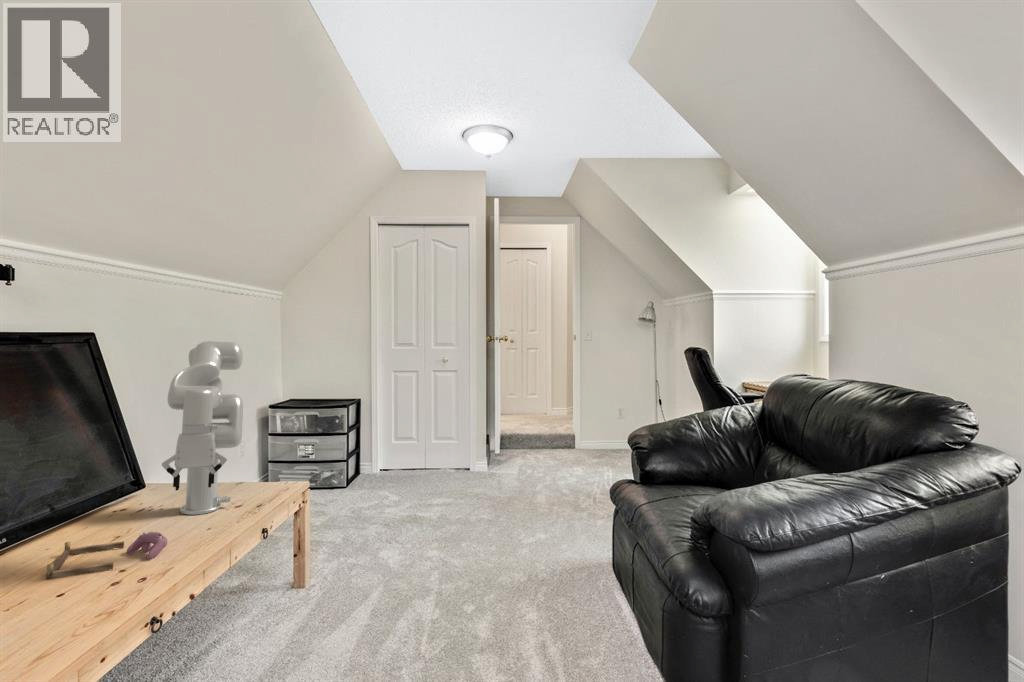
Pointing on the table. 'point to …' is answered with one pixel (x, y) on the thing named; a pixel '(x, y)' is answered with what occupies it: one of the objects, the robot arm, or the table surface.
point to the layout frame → (56, 573)
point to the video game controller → (149, 544)
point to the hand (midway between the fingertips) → (193, 487)
